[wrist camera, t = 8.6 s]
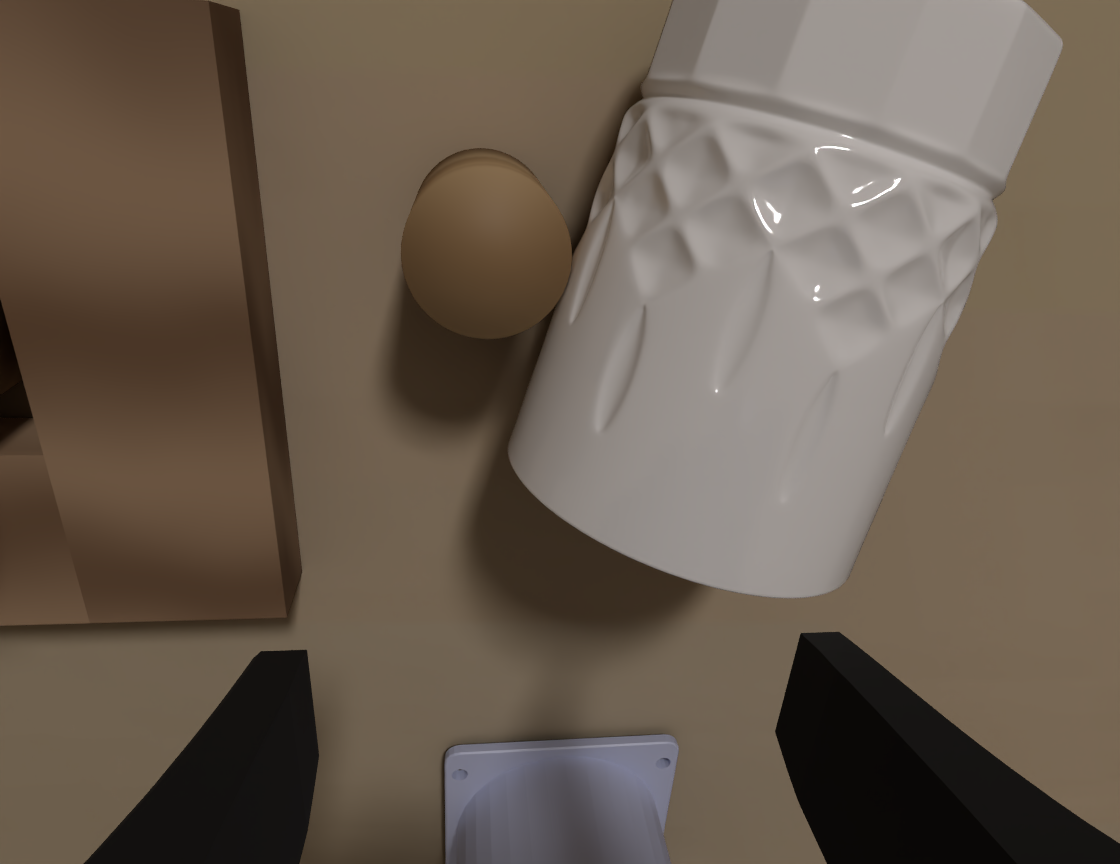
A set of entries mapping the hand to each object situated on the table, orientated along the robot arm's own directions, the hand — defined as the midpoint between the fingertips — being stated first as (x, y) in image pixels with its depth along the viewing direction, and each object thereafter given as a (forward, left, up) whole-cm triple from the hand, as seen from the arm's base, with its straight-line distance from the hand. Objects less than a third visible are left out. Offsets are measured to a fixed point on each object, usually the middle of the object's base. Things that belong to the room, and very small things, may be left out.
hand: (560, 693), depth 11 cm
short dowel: (+5, +1, -10) cm, 11 cm away
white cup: (+10, -6, -7) cm, 13 cm away
